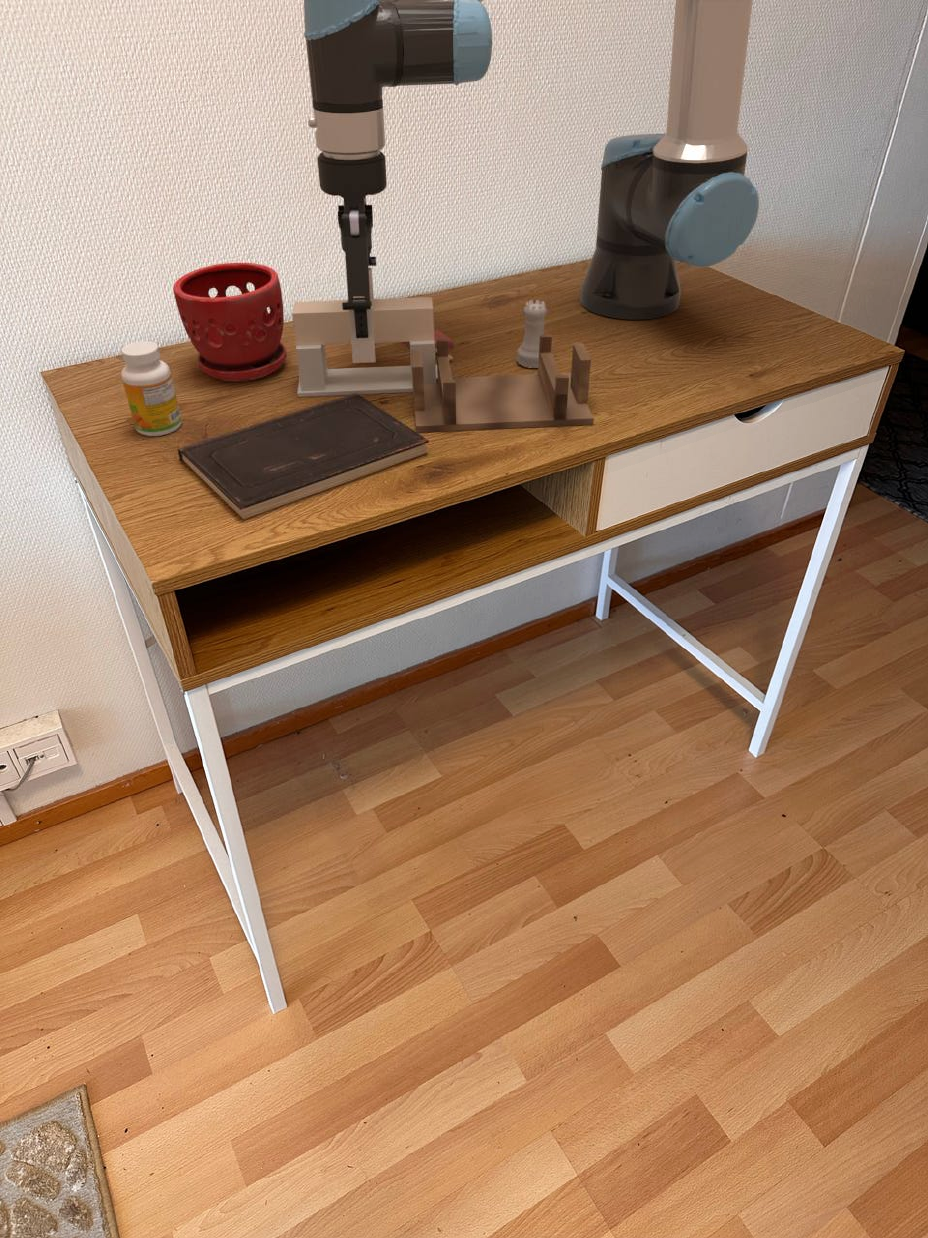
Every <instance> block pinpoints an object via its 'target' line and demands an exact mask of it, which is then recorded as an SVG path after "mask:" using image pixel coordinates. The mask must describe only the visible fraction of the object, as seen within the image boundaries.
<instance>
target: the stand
mask: <svg viewBox="0 0 928 1238" xmlns="http://www.w3.org/2000/svg"><path fill="white" fill-rule="evenodd" d="M409 342H410V348H409V356H410V357H409V358H410V365H399V366H398V365H396V366H371V367H352V368H351V367H349V368H347V367H345V368H328V366H327V359H326V349H325V345H307V346H296V345H295V346H296V347H295V352H296V360H297V361H296V362H297V368H298V374H299V378H298V386H297V391H296V392H297V397H298V398H302V397H303V398H305V397H308V398H309V397H325V396H347V395H351V394H354V393H358V394H359V395H372V394H373V395H375V394H378V395H379V394H395V393H396V394H398V393H401V392H402V393H413V387H412V384H413V380H412V358H411V350H421V354H422V362H423V379H424V384H434V383H436V378H438V375H437V364H436V353H435V342H434V341H409Z"/></svg>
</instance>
